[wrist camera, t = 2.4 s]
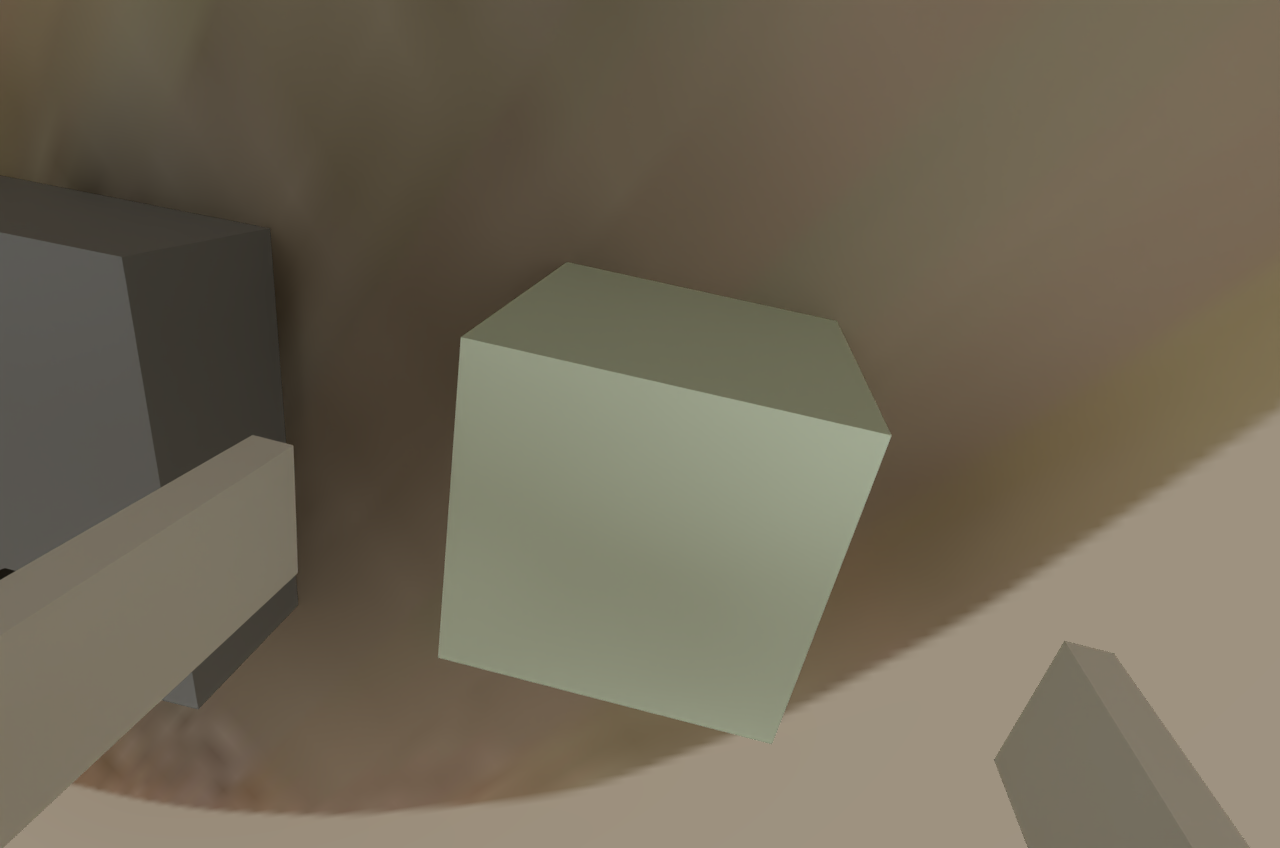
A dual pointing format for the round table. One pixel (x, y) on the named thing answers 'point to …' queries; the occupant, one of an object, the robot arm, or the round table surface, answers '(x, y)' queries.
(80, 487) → the base block
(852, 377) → the green cube
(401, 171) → the round table surface
